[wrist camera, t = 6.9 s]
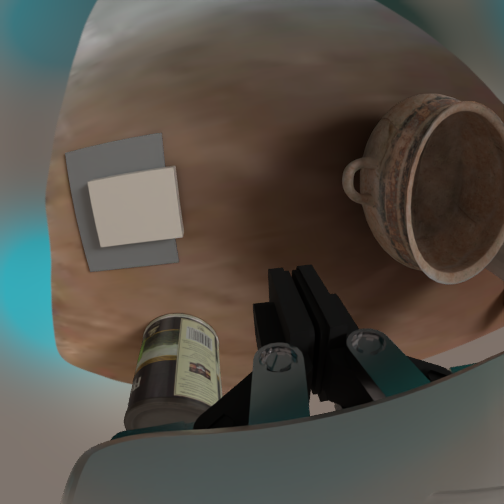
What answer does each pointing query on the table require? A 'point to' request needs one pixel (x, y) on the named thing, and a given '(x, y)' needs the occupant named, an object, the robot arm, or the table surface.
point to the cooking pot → (434, 185)
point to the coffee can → (174, 373)
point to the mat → (80, 173)
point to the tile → (137, 206)
